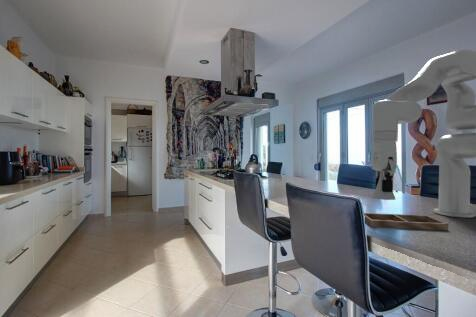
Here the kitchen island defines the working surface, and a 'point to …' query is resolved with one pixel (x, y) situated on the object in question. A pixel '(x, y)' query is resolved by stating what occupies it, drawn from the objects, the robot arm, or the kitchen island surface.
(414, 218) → the divider frame
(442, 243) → the kitchen island surface
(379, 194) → the flask
